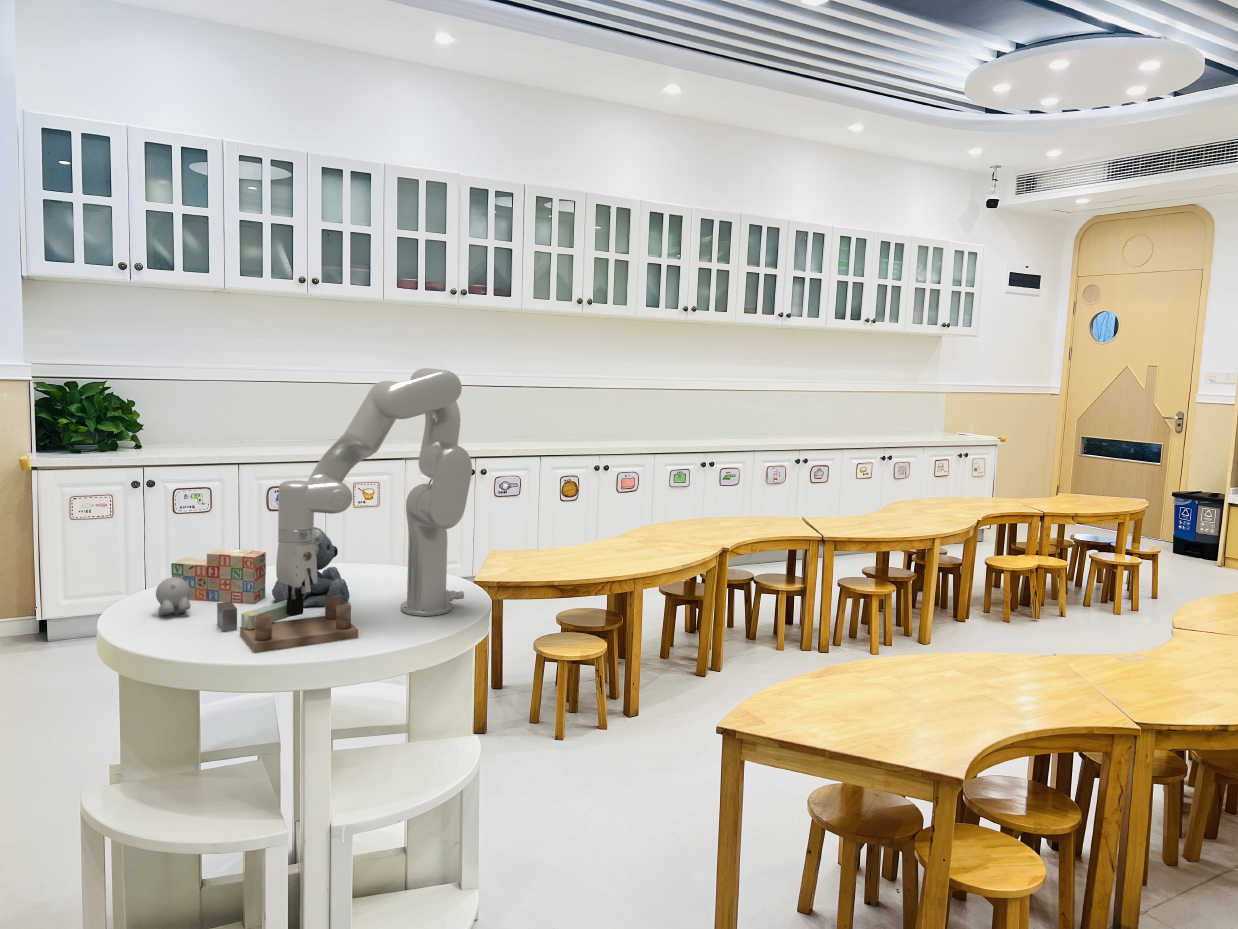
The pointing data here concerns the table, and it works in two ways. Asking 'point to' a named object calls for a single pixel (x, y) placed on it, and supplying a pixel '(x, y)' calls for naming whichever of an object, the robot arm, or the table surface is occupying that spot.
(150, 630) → the table surface
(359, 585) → the table surface
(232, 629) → the block
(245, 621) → the folding leg
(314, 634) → the stool seat
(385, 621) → the table surface
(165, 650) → the table surface
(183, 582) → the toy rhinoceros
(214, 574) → the stack of blocks
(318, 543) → the koala plush
